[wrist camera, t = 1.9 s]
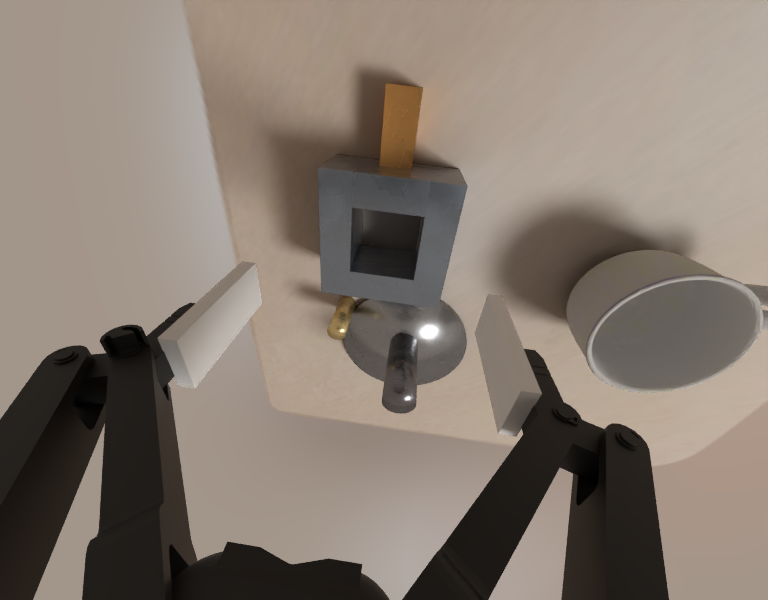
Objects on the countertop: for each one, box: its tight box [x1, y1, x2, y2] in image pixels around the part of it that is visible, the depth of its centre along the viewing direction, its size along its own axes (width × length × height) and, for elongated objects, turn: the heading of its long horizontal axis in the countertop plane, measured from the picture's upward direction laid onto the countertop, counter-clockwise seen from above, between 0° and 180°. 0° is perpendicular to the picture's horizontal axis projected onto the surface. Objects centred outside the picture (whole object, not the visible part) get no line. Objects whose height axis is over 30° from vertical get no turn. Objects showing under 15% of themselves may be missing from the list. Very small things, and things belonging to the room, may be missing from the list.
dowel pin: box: [327, 296, 356, 340], centre depth 31 cm, size 2×2×5 cm
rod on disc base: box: [344, 299, 467, 413], centre depth 32 cm, size 14×14×9 cm
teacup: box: [566, 250, 768, 393], centre depth 25 cm, size 14×11×8 cm
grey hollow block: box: [318, 83, 467, 309], centre depth 24 cm, size 15×10×6 cm, turn 175°
